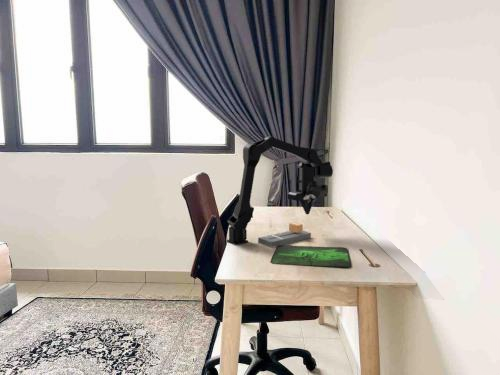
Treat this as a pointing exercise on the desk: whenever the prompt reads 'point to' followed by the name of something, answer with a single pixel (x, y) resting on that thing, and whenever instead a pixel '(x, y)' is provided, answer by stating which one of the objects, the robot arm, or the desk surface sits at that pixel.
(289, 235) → the grey flat panel
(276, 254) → the mouse mat
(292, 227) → the fader
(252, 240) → the desk surface
